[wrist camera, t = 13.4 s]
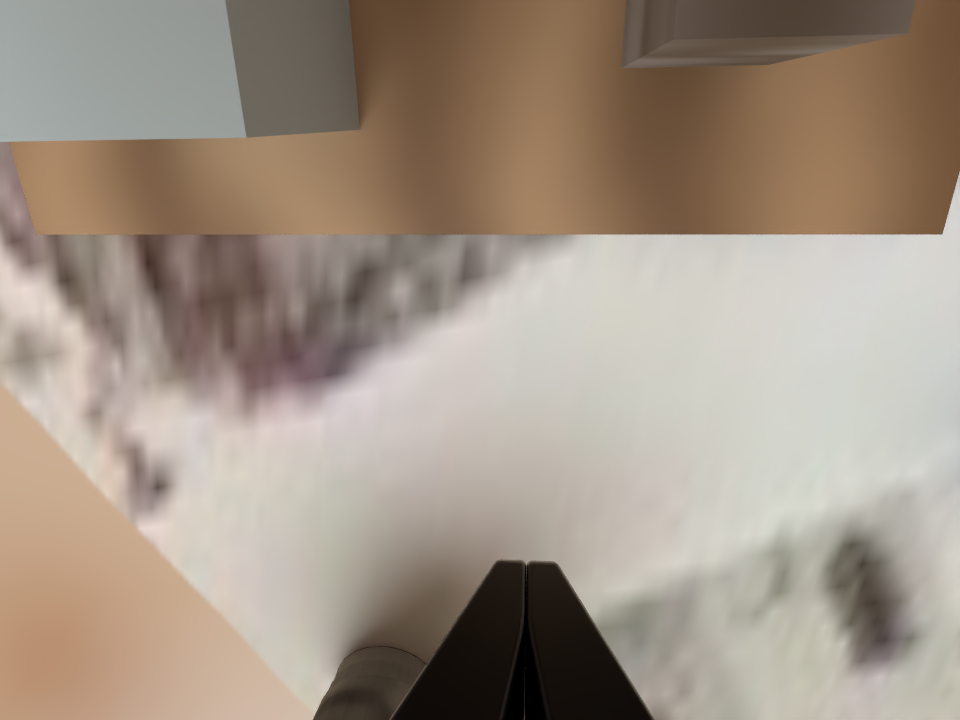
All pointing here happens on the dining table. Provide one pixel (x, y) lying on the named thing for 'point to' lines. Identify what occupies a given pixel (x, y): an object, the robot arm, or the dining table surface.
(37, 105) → the matte gray-blue cube
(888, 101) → the stand
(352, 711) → the beverage cup
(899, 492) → the dining table surface
